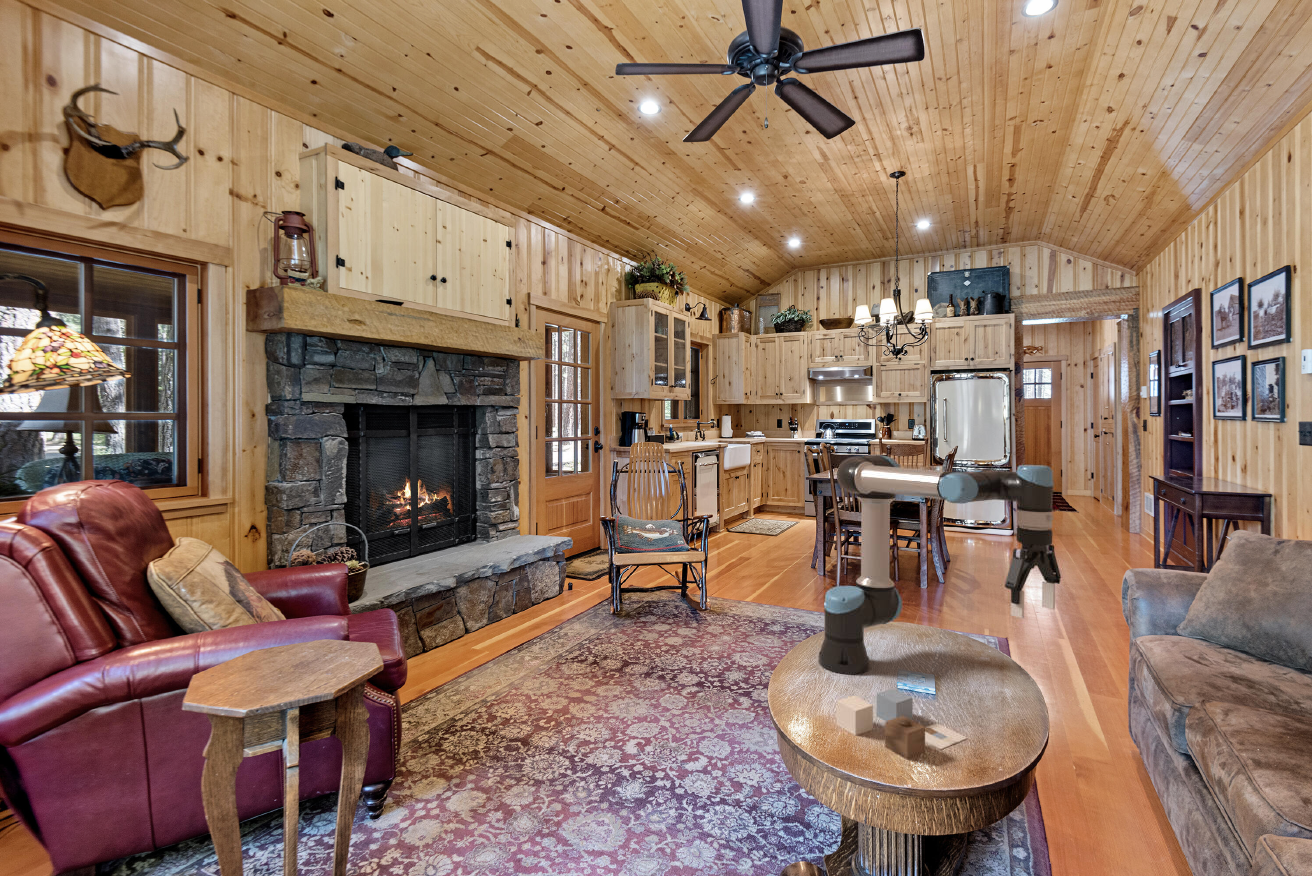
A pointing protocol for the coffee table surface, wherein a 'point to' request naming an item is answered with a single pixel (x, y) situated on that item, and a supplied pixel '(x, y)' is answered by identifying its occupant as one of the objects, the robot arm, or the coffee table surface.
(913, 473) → the robot arm
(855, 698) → the cream brick
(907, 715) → the slate brick
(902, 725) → the walnut base brick
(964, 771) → the coffee table surface
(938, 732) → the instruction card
